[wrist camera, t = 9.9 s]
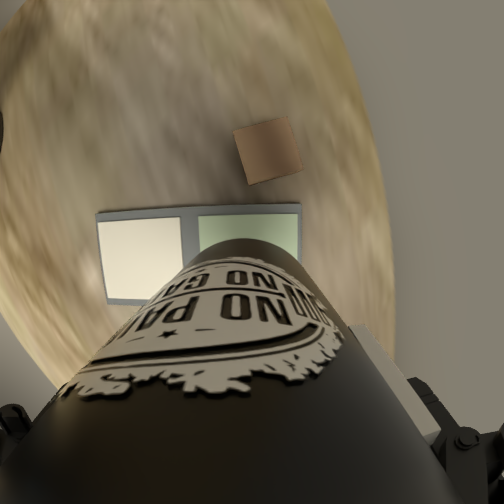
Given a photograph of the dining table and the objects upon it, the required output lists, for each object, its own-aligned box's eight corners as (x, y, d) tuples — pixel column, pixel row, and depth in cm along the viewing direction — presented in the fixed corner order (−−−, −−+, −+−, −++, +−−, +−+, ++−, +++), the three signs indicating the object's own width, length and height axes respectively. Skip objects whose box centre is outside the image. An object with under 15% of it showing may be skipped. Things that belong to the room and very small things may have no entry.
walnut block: (249, 185, 29) (248, 184, 24) (235, 141, 28) (232, 131, 23) (295, 172, 28) (303, 169, 23) (281, 128, 27) (287, 116, 22)
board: (110, 301, 31) (106, 305, 30) (98, 213, 29) (93, 214, 28) (299, 302, 31) (300, 306, 30) (300, 203, 29) (302, 204, 28)
